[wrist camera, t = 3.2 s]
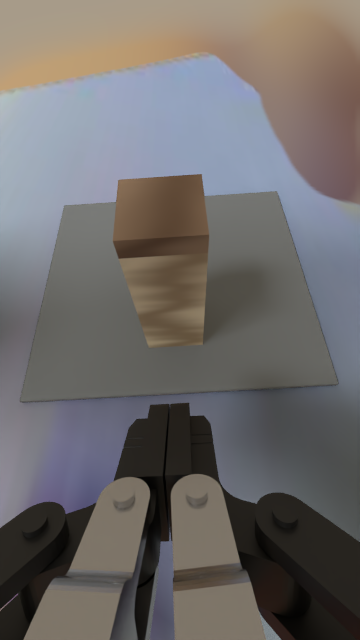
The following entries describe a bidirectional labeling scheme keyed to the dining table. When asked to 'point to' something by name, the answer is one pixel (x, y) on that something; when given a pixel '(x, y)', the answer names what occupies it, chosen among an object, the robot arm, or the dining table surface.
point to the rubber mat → (219, 320)
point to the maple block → (164, 255)
